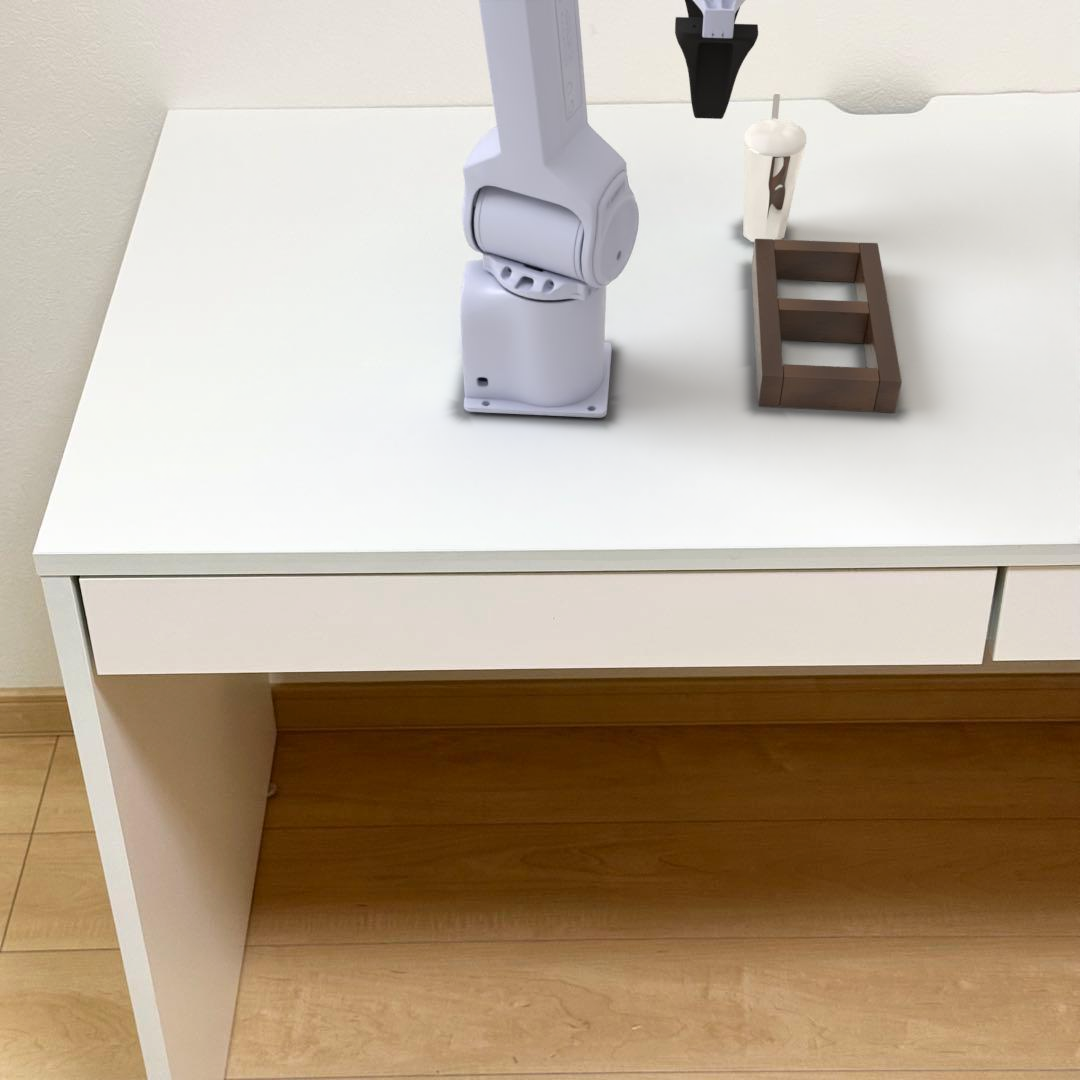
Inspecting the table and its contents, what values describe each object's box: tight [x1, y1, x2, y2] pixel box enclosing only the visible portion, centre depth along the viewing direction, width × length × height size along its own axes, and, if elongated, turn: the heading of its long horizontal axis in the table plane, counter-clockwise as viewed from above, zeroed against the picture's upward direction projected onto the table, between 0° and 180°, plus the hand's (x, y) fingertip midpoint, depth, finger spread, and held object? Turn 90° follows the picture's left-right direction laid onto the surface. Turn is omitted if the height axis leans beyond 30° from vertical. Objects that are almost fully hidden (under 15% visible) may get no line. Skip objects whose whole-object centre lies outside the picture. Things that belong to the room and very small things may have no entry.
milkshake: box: [742, 93, 807, 243], centre depth 102 cm, size 5×5×10 cm
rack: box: [750, 239, 903, 414], centre depth 95 cm, size 9×17×3 cm, turn 175°
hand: (708, 91), depth 100 cm, fingers open, 7 cm apart
